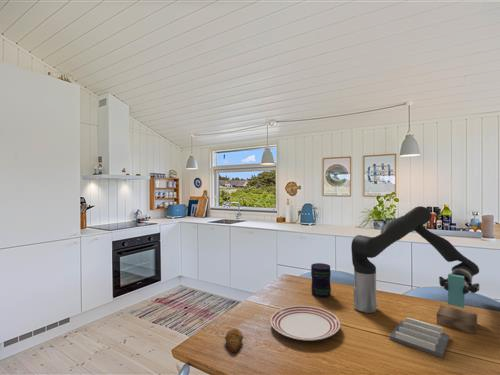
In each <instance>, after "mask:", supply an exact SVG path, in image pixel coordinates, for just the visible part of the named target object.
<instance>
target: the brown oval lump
mask: <svg viewBox="0 0 500 375" xmlns="http://www.w3.org/2000/svg"><path fill="white" fill-rule="evenodd" d="M224 339H225V342H226V344H227V347H228V348H229V350H230V352H231V353H233V354H236V353H238V351H239V349H240V346H241V345H242V342H243V340H244V335H243V334H242V332H241V331H240V330H239V329H238V328H231V329H230V330H228V331H227V332H226V334H225V337H224Z"/></svg>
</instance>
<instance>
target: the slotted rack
mask: <svg viewBox="0 0 500 375" xmlns="http://www.w3.org/2000/svg"><path fill="white" fill-rule="evenodd" d="M450 337H451V336H450V334H449V333H444V328H443V327H442V326H439V325H435V324H432V323H428V322H425V321H421V320H418V319H415V318H411V317H408V316H406V317H405V321H404V320H400V321H399V322H398V324H397V325H396V326H395V328H394V330H392V332H391V333H390V334H389V340H392V341H394V342H397V343H400V344H402V345H406V346H409V347H411V348H414V349H417V350H420V351H422V352H424V353H428V354H431V355H434V356H437V357H440V358H443V357H444V354H445V351H446V349H447V346H448V344H449V341H450Z"/></svg>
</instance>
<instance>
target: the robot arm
mask: <svg viewBox="0 0 500 375" xmlns="http://www.w3.org/2000/svg"><path fill="white" fill-rule="evenodd" d="M431 219H432V213H431V210H430V209H428V208H427V207H425V206H421V205H420V206H415V207H414V208H412V209H411V210H410V211H408V212H407V213H405V214H404V215H402V216H399V217H397V218H394V219H392V220H391V221H389V222H387V223H385V224H383V226H382V227H381V229H380V234H379V235H376V236H367V235H360V234H357V235H355V236H354V237H353V239H352V241H351V246H350V247H351V248H350V249H351V260H352V261H351V264H352V265H353V273H354V274H353V277H354V278H353V279H354V280H353V282H354V285H353V286H354V287H353V310H356V311H359V312H361V313H365V314H366V313H367V314H372V313H375V312H377V308H378V306H377V267H376V265H375V264H374V263H373V262H372V261H370V260H369V259H373V258H375V257H377V256H378V255H380V254H381V253H383V252H384V251H385V250H386V249H387V248H389V247H390V246H391V245H392V244H394V243H396V242H397V241H400V240H401V239H403V238H405V236H407V235H408V234H410V233H411V232H412V231H415V232H416V233H417V234H418V235H419V236H421V238H422V239H424V240H425V241H426V242H428V243H429V244H430V245H431V246H432V247H433V248H434V249H435V250H436V251H437V252H438V253H439V254H440V256H441V257H442V258H443V259H444V260H445V261H446V262H447V263H453V262H457V261H458V262H460V263H457V264H456V265H454V266H452V267H451V273H450V274H455V275H460V276H464V288H463V294H464V295H466V294H469V293H471V294H475V293H477V292H479V291H480V283H473V277H474V276H476V275H478V274H479V273H480V268H479V266H478V264H476V262H474V261H472V260H470V259H469V258H467V257H466V256H465V255H463V254H462V253H461V252H460V251H458V250H457V249H456V247H455V246H454V245H453V244H452V243H451V242H450V241H449V240H447V239H446V238H444V237H442V236H440V235H438V234H436V233H433V232H431V231H430V230H428V229H427V228H426V227H425V225H426V224H427V223H429V222H430V221H431ZM438 280H439V281H438V282H439V286H440V287H442V288H443V289H444V290H445V291H447V292H448V277H447V278H445V277H442V276H439V277H438Z"/></svg>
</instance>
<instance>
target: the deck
mask: <svg viewBox="0 0 500 375" xmlns="http://www.w3.org/2000/svg"><path fill="white" fill-rule="evenodd" d="M436 324H438V325H442V326H445V327H449V328H451V329H455V330H460V331H463V332H466V333H471V334H474V335H475V334H476V331H477V325H478V313H475V312H471V311H466V310H463V309H458V308H455V307H451V306H447V305H442V304H441V305H440V306H439V309H438V310H437V312H436Z"/></svg>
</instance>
